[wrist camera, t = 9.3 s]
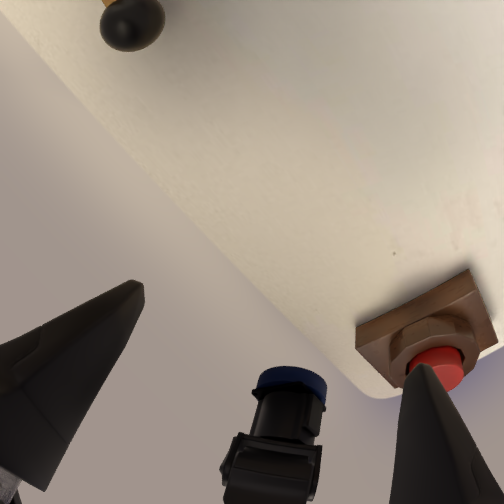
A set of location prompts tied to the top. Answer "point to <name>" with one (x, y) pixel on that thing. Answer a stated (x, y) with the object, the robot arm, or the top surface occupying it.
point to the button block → (428, 329)
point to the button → (442, 364)
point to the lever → (131, 23)
